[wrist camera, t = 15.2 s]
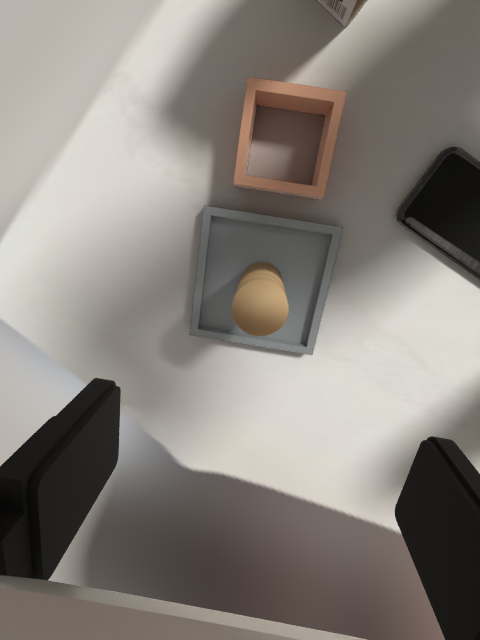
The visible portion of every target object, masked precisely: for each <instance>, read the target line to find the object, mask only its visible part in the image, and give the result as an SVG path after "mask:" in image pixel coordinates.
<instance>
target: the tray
mask: <svg viewBox="0 0 480 640" xmlns="http://www.w3.org/2000/svg"><path fill="white" fill-rule="evenodd" d="M342 230H343V227H338V226H332V225H325V224H319V223H313V222H307V221H300V220H294V219H288V218H281V217H275V216H269V215H262V214H256V213H250V212H243V211H237V210H231V209H224V208H218V207H212V206H205V205H204V208H203V218H202V227H201V236H200V245H199V254H198V264H197V273H196V282H195V291H194V300H193V310H192V319H191V328H190V335H194V336H200V337H206V338H212V339H218V340H224V341H230V342H236V343H242V344H248V345H254V346H260V347H266V348H272V349H278V350H284V351H290V352H296V353H302V354H308V355H313V350H314V346H315V342H316V338H317V334H318V330H319V325H320V321H321V317H322V313H323V309H324V305H325V300H326V296H327V292H328V288H329V284H330V280H331V275H332V271H333V267H334V263H335V259H336V255H337V250H338V246H339V242H340V238H341V234H342ZM256 262H268V263H270V264H272V265H274V266H275V267H276V268H277V269H278V270H279V272H280V273H281V276H282V280H283V284H284V288H285V293H286V297H287V301H288V307H289V311H288V316H287V319H286V321H285V323H284V325H283V326H282V327H281V328H280V329H279V330H278V331H276V332H274V333H272V334H270V335H267V336H254V335H250V334H248V333H246V332H244V331H243V330H242V329H240V328H239V327H238V325H237V324H236V323H235V321H234V319H233V316H232V302H233V299H234V296H235V294H236V291H237V288H238V285H239V282H240V280H241V277H242V274H243V272H244V271H245V269H246V268H247V267H248V266H250V265H251V264H253V263H256Z"/></svg>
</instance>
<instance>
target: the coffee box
mask: <svg viewBox="0 0 480 640" xmlns="http://www.w3.org/2000/svg"><path fill="white" fill-rule="evenodd" d="M317 1H318V2H319V3H320V4H321V5H322V6H323V7H324V8H325V9H326V10H328V11H329V12H330V13H331V14H332V15H333V16H334V17H335V18H336V19H337V20H338V21H339V22H340V23H341V24H342V25H343V26H344V27H347V26H348V25H349V24H350V22H351V21H352V20H353V19H354V17H355V16H356V15H357V13H358V12H359V11H360V9H361V8H362V7H363V5H364V4H365V3H366V1H367V0H317Z"/></svg>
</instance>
